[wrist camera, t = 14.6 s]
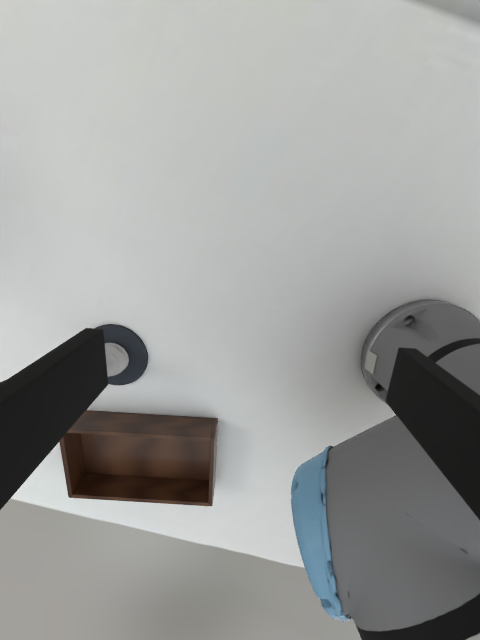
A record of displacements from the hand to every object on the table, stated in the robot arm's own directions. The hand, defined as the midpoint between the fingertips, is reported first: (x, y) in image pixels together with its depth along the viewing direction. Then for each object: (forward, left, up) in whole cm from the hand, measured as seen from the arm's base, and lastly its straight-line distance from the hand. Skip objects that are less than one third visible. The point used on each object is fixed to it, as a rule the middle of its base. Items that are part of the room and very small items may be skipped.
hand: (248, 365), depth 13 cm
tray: (+9, +30, -25) cm, 39 cm away
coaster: (+15, +15, -25) cm, 33 cm away
